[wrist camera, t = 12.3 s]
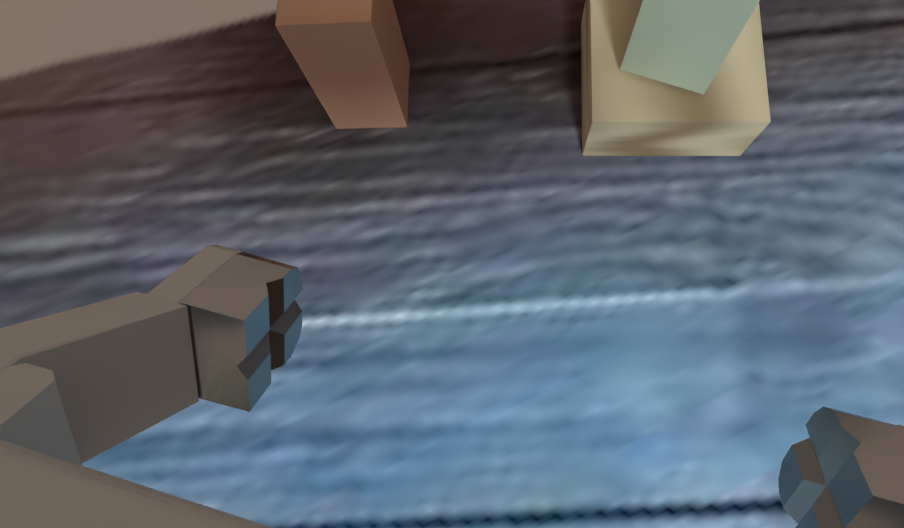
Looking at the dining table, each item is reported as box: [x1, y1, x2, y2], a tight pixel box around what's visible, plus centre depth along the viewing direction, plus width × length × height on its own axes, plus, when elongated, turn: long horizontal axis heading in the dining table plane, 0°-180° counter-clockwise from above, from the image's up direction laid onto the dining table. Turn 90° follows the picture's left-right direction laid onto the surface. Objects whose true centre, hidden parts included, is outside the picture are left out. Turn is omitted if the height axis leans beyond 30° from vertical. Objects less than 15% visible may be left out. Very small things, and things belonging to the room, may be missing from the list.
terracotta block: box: [275, 0, 410, 129], centre depth 29 cm, size 4×4×9 cm
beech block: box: [581, 0, 771, 156], centre depth 30 cm, size 8×8×4 cm
